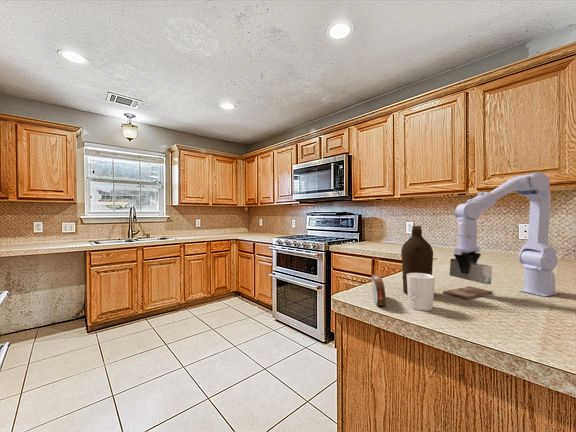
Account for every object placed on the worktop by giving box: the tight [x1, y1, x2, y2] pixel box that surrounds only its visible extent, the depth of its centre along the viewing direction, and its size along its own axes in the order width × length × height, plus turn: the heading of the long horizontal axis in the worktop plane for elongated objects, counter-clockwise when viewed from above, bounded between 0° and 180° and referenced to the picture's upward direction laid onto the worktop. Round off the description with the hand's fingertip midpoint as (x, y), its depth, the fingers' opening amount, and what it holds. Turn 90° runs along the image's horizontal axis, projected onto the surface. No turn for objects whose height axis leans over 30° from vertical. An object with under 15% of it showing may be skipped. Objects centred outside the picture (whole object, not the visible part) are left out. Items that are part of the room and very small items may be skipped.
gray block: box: [449, 257, 493, 285], centre depth 96 cm, size 4×13×6 cm, turn 31°
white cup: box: [407, 273, 435, 312], centre depth 83 cm, size 8×8×10 cm
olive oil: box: [400, 225, 434, 295], centre depth 98 cm, size 11×11×25 cm
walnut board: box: [442, 286, 493, 300], centre depth 97 cm, size 16×8×1 cm, turn 115°
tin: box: [370, 274, 387, 307], centre depth 89 cm, size 15×3×8 cm, turn 168°
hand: (467, 272), depth 97 cm, fingers closed on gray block, 3 cm apart
